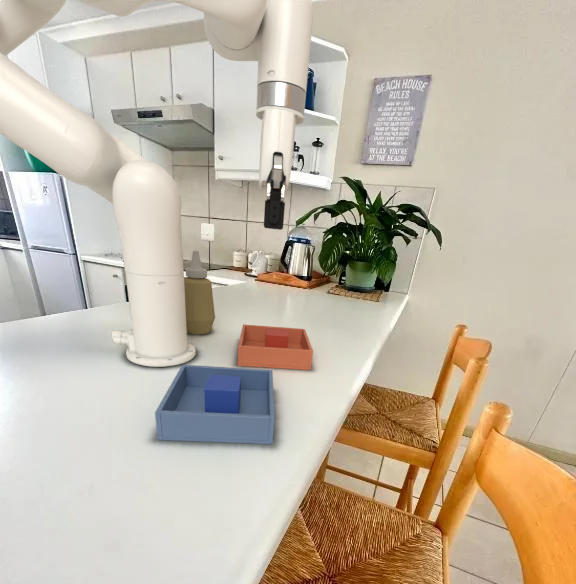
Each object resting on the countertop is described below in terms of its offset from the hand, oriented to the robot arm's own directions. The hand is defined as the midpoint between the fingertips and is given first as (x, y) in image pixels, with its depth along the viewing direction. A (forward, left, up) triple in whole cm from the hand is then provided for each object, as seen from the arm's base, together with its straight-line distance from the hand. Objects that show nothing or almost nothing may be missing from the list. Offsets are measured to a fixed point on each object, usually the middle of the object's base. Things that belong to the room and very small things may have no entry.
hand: (272, 228), depth 58 cm
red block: (+2, 0, -24) cm, 24 cm away
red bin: (+2, 0, -24) cm, 24 cm away
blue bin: (-6, -24, -24) cm, 35 cm away
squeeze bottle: (-16, +12, -24) cm, 32 cm away
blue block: (-6, -24, -24) cm, 34 cm away
